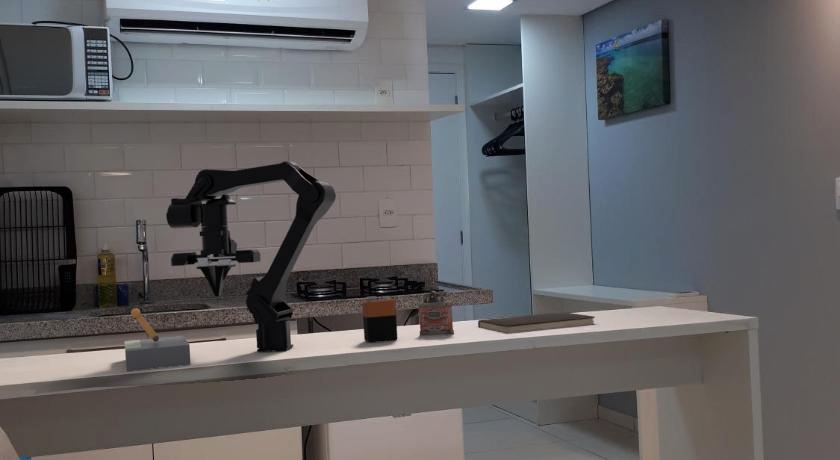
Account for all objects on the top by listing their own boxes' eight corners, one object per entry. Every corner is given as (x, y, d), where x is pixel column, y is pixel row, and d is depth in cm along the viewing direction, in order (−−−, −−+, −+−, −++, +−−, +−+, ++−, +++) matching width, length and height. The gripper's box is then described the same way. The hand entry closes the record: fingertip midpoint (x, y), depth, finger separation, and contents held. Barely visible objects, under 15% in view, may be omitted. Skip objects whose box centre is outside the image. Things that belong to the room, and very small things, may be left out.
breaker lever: (160, 336, 168) (136, 306, 167) (161, 338, 165) (137, 307, 163) (153, 342, 168) (129, 312, 166) (154, 343, 164) (129, 313, 163)
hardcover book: (595, 326, 188) (594, 316, 188) (506, 335, 181) (506, 325, 181) (561, 320, 203) (560, 311, 204) (478, 329, 196) (477, 319, 196)
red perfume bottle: (418, 335, 185) (415, 292, 185) (421, 333, 188) (419, 291, 188) (452, 334, 183) (449, 291, 183) (455, 332, 187) (452, 290, 187)
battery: (363, 341, 181) (361, 296, 181) (392, 338, 183) (390, 294, 183) (368, 343, 177) (366, 298, 177) (398, 340, 179) (395, 295, 179)
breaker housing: (183, 353, 177) (182, 334, 177) (190, 364, 160) (189, 343, 160) (125, 359, 172) (124, 340, 172) (126, 371, 155) (125, 349, 156)
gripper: (266, 224, 185) (269, 292, 185) (188, 228, 187) (191, 295, 187) (251, 224, 174) (254, 296, 174) (168, 228, 176) (171, 299, 176)
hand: (217, 296), depth 178 cm, fingers closed
